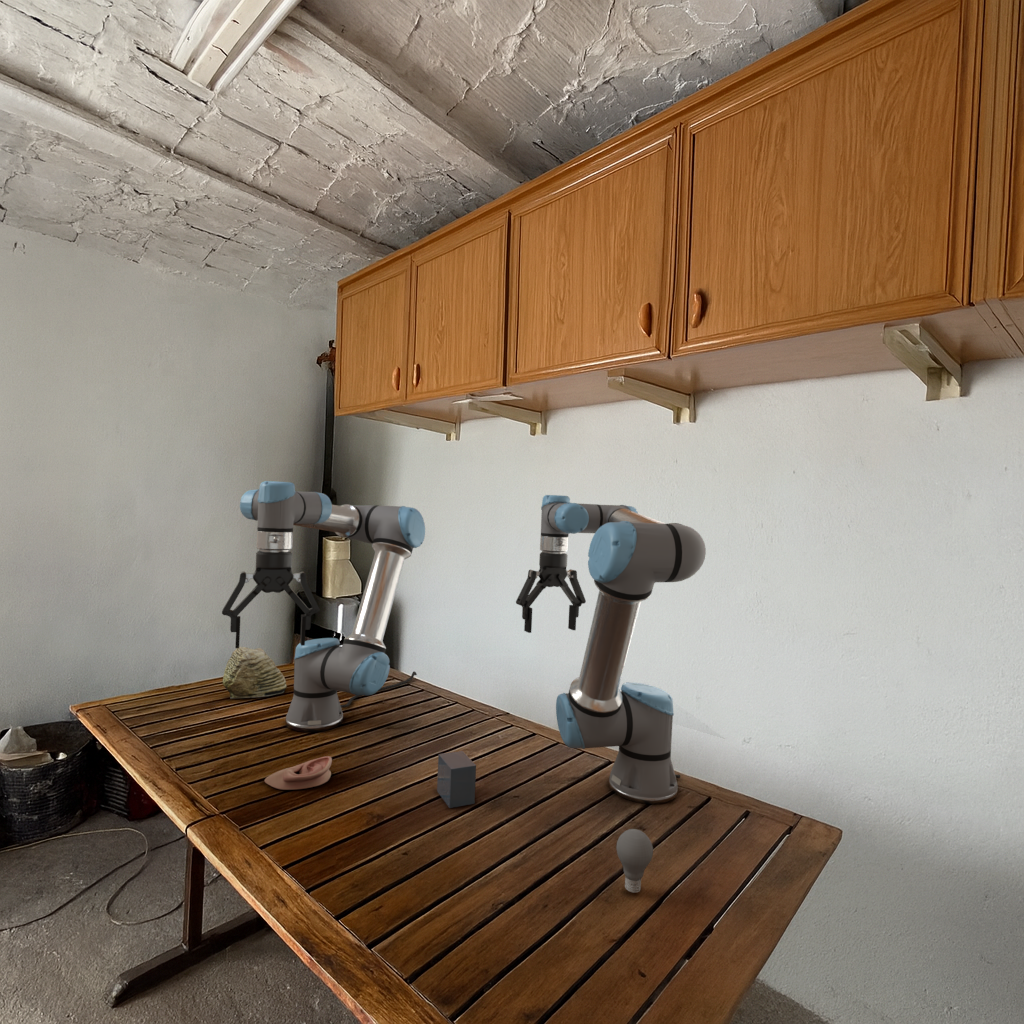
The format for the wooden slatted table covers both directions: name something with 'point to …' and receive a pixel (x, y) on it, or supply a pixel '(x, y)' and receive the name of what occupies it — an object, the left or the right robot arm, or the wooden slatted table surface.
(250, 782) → the wooden slatted table surface
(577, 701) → the right robot arm
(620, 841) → the light bulb
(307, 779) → the anatomical model
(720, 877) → the wooden slatted table surface
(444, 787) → the dark grey boxy piece
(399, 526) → the left robot arm
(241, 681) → the fossil
